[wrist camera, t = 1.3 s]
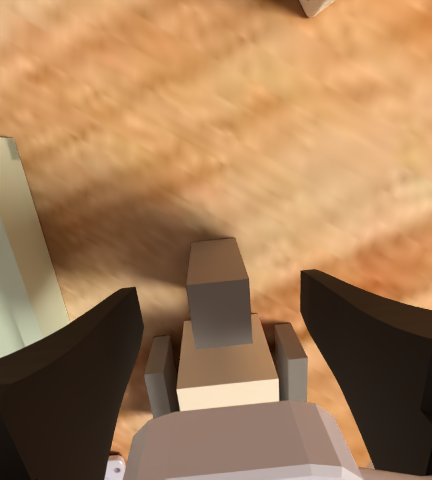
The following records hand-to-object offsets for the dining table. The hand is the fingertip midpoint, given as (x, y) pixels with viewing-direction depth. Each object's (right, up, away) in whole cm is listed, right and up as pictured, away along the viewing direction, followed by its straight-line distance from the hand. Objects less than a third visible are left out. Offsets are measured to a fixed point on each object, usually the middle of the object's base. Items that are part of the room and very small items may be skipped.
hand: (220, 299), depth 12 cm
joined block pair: (0, -3, +5) cm, 6 cm away
